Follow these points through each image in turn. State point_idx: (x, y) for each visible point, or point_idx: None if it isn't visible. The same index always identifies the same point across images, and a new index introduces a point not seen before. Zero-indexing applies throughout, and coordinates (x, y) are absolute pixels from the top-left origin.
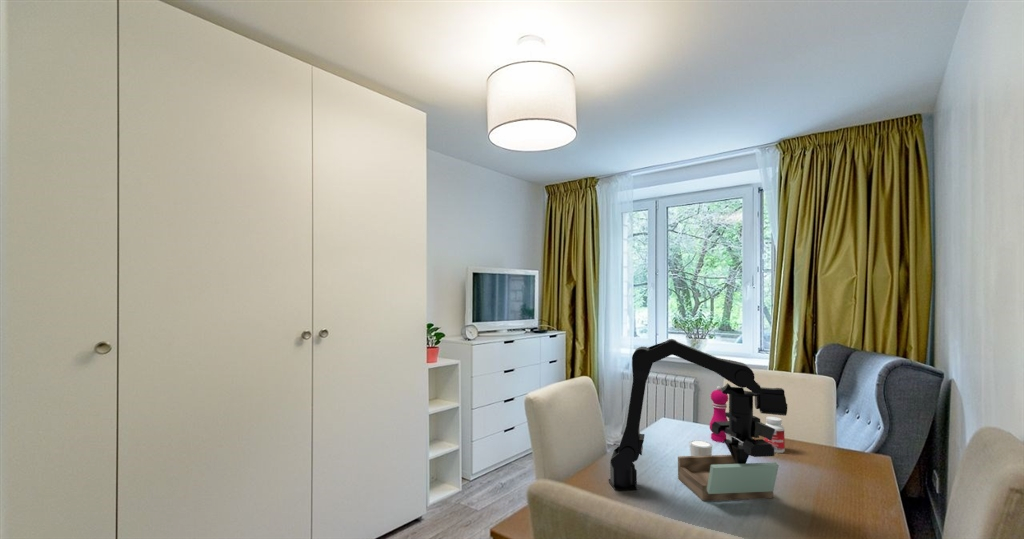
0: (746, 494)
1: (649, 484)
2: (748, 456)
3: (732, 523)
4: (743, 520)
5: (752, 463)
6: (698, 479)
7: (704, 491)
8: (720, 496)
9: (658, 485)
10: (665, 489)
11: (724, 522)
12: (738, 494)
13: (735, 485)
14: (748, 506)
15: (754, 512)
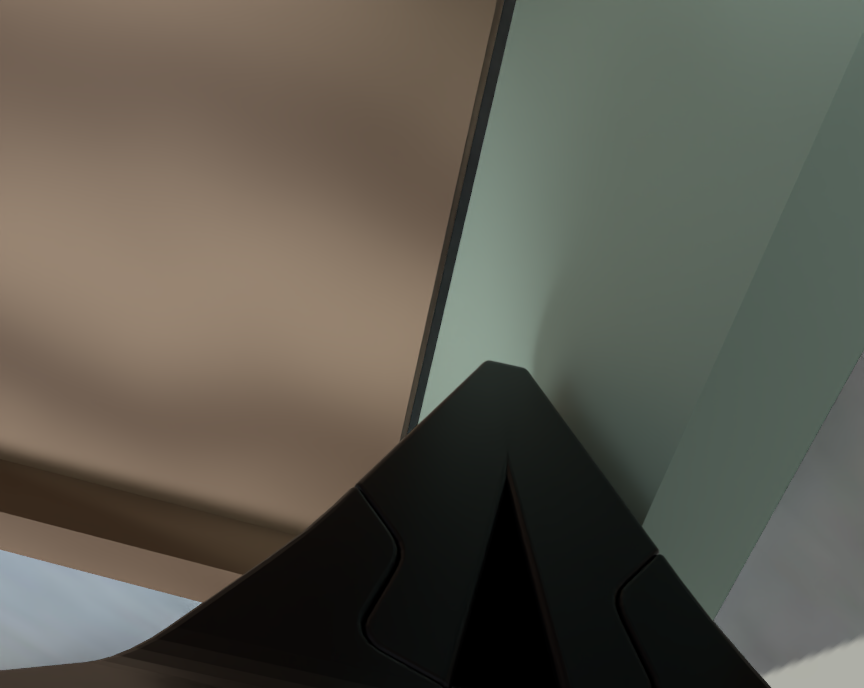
0: (488, 52)
1: (15, 654)
2: (730, 651)
3: (833, 594)
4: (854, 479)
5: (735, 351)
6: (191, 571)
7: None
8: (415, 386)
9: (35, 614)
10: (115, 616)
11: (783, 631)
12: (460, 176)
13: None
14: None
15: None
